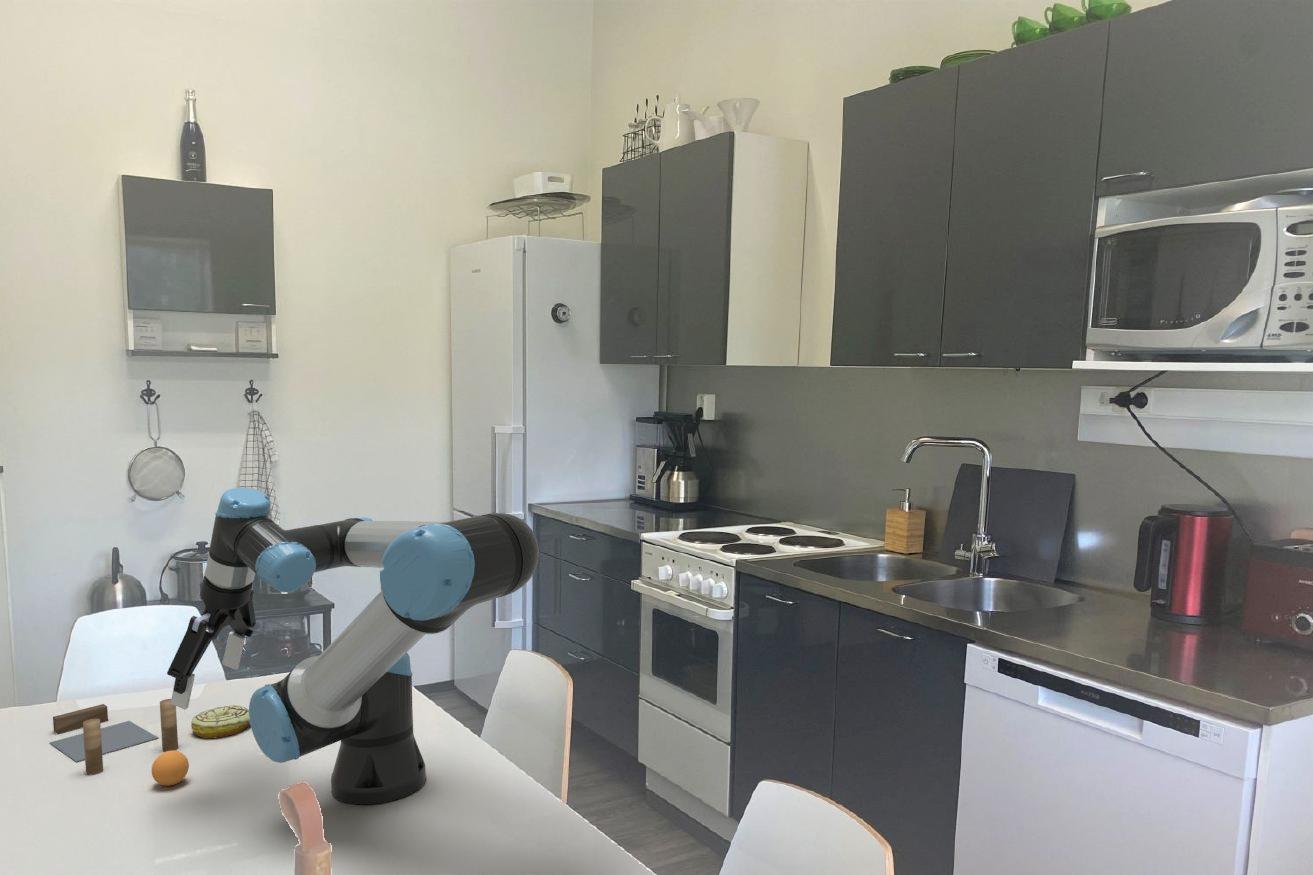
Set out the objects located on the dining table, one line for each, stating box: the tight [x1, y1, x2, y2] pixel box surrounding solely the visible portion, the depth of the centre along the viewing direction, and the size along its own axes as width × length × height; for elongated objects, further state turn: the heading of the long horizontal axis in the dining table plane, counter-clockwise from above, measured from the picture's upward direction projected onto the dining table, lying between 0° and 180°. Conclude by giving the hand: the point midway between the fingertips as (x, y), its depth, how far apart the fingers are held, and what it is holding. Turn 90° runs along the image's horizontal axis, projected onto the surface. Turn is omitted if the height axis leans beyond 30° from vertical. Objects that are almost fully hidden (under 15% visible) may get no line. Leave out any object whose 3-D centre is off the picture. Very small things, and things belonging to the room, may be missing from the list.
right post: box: [159, 698, 179, 752], centre depth 175 cm, size 3×3×9 cm
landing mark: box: [49, 720, 159, 763], centre depth 180 cm, size 14×14×1 cm
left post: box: [82, 719, 104, 776], centre depth 165 cm, size 3×3×9 cm
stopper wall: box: [52, 703, 109, 735], centre depth 187 cm, size 2×9×3 cm, turn 139°
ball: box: [151, 750, 190, 787], centre depth 160 cm, size 6×6×6 cm
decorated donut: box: [190, 704, 251, 739], centre depth 184 cm, size 10×11×4 cm
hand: (205, 685), depth 162 cm, fingers open, 13 cm apart
